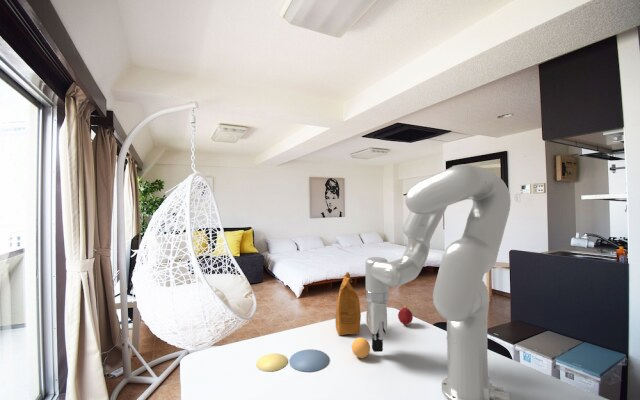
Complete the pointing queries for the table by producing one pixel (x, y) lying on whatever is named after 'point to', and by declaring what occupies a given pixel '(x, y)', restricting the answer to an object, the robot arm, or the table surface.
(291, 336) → the table surface
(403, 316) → the onion
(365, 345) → the ball
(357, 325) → the coffee package
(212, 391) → the table surface
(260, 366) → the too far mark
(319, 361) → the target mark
